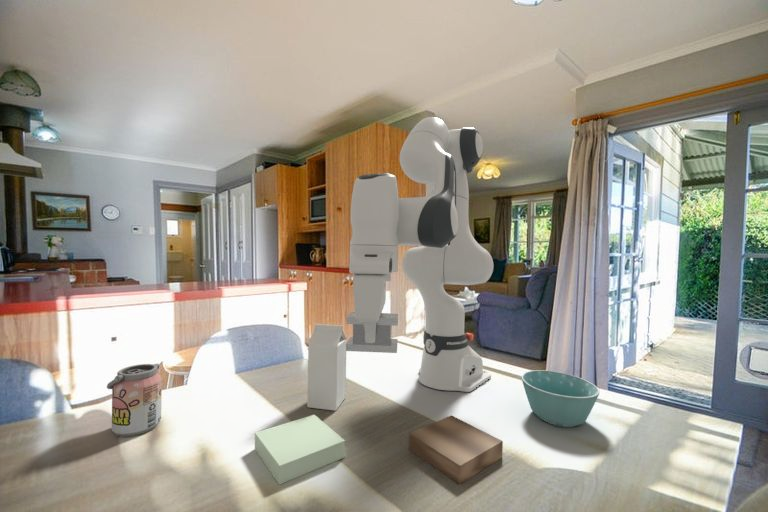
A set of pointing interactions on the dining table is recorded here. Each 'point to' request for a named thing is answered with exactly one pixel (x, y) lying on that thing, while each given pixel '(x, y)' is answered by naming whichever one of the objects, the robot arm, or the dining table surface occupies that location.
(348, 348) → the block
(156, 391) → the beverage can
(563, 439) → the dining table surface
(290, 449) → the stand
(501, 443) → the stand
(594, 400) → the bowl
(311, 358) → the milk carton
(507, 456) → the dining table surface
